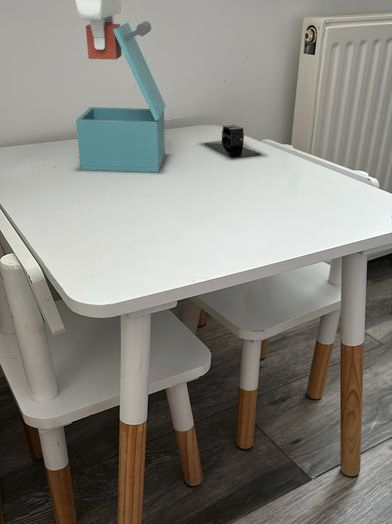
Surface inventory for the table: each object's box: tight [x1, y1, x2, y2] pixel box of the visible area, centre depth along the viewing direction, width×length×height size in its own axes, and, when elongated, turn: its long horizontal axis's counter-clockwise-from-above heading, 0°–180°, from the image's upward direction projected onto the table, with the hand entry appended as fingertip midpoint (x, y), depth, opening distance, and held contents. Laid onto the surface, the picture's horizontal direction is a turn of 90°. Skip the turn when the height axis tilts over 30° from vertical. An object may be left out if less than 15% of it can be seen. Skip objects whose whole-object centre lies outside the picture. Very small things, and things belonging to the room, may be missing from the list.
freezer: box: [75, 106, 166, 173], centre depth 106 cm, size 15×12×9 cm
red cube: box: [85, 23, 123, 60], centre depth 97 cm, size 5×5×5 cm
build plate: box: [204, 124, 262, 160], centre depth 117 cm, size 12×7×5 cm, turn 26°
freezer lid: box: [113, 20, 166, 121], centre depth 99 cm, size 15×12×5 cm
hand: (104, 47), depth 98 cm, fingers closed on red cube, 5 cm apart
